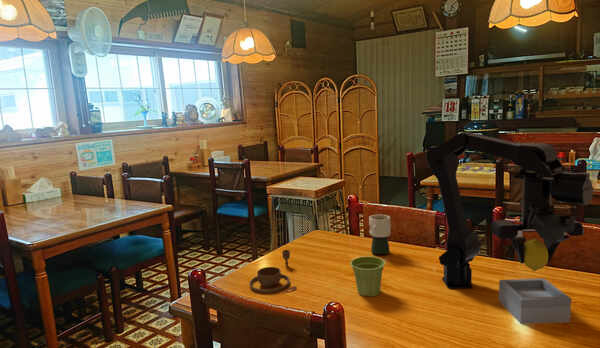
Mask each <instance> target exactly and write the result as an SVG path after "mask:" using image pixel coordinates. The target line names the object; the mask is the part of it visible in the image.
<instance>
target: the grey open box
mask: <svg viewBox="0 0 600 348" xmlns="http://www.w3.org/2000/svg"><path fill="white" fill-rule="evenodd" d="M498 281H499V283H498V284H499V285H498V302H499V303H500V304H501V306H502V307H504V308H505V310H507V311H508V313H510V314H511V316H512V317H513V318H514V319H515V320H516V321H517V322H518V323H520V324H521V325H522V324H523V325H524V324H525V325H526V324H551V323H555V324H556V323H570V322H571V307H572V305H571V304H572V298H571V297H570V296H568V295H567V294H566V293H565V292H563V291H562V290H560V289H559V288H557V286H555V285H554V284H552V283H551V282H550V281H548V280H547V279H545V278H543V277H542V278H540V277H539V278H521V279H520V278H519V279H518V278H517V279H513V278H512V279H498Z"/></svg>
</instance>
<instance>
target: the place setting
mask: <svg viewBox="0 0 600 348" xmlns="http://www.w3.org/2000/svg"><path fill="white" fill-rule="evenodd" d="M281 254H282V258H283V260H284V261H285V262H284V263H285V264H284V265H285V266H288V267H289V261H288V260H289V259H290V257H291V252H290V249H283V250H282V253H281ZM256 273H257V276H255V277H253V278H252V279H251V280H250V281H249V287H250V289H251V291H254V292H256V293H259V292H260V294H273V293H278V292H281V291H283V290H285V289H286V288H287V290H286V291H284V292H282V293H281V295H284V294H287V293H289V292H294V291H295V290H296V289H297V286H290V287H289V288H288V286H289V285H290V277H289V276H287V275H286V274H283V273H281V268H279V267H276V266H267V267H263V268H261V269H258V270H257V272H256ZM282 278H284V279H285V280H284V279H283V280H284V281H286V280H287V281H286V283H285V284H284V285H282V286H279V287H276V286H277V285H278V283H279V282H280V281H281V279H282ZM256 280H258V281H256ZM255 281H256V282H258V284H260V285H261V286H263V287H264V286H265V287H264V288H268V287H269V288H270V289H269V288H268V289H263V288H262V289H261V288H256V287H254V286H253V285H254V284H253V282H255ZM256 282H255V283H256ZM287 282H288V283H287ZM252 284H253V285H252ZM275 285H276V286H275ZM273 287H274V288H273ZM275 287H276V288H275ZM292 289H293V290H292ZM288 290H289V291H288Z"/></svg>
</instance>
